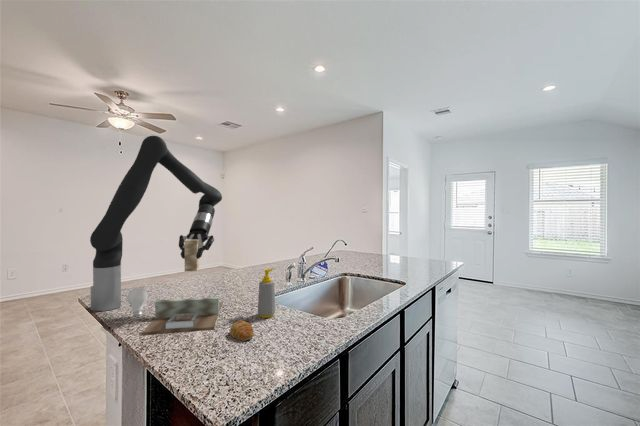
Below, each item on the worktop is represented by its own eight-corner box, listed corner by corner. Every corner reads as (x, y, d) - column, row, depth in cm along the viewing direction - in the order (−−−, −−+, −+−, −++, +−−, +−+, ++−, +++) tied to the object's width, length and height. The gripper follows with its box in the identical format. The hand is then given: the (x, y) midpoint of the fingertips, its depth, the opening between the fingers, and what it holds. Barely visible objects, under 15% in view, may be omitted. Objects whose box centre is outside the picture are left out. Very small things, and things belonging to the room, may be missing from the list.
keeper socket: (165, 329, 95) (165, 323, 95) (173, 319, 103) (173, 314, 103) (193, 327, 97) (193, 321, 97) (198, 318, 105) (198, 312, 105)
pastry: (259, 338, 92) (259, 326, 92) (238, 344, 88) (238, 332, 88) (247, 328, 99) (247, 317, 99) (227, 334, 95) (227, 322, 95)
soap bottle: (279, 315, 111) (279, 269, 111) (264, 320, 106) (264, 272, 106) (268, 310, 116) (268, 266, 116) (253, 315, 111) (254, 269, 111)
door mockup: (142, 335, 93) (142, 313, 93) (167, 307, 118) (167, 291, 118) (213, 329, 98) (213, 309, 98) (223, 304, 123) (223, 288, 123)
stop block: (184, 271, 112) (184, 240, 112) (187, 268, 116) (187, 239, 116) (196, 271, 113) (196, 240, 112) (199, 268, 117) (199, 239, 117)
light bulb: (151, 315, 111) (151, 286, 110) (134, 321, 105) (134, 291, 104) (140, 312, 113) (140, 284, 113) (123, 318, 107) (123, 288, 107)
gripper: (182, 219, 121) (168, 251, 109) (216, 219, 122) (206, 251, 110) (187, 230, 127) (174, 262, 115) (220, 230, 127) (211, 263, 115)
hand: (190, 257), depth 113 cm, fingers closed on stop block, 5 cm apart
